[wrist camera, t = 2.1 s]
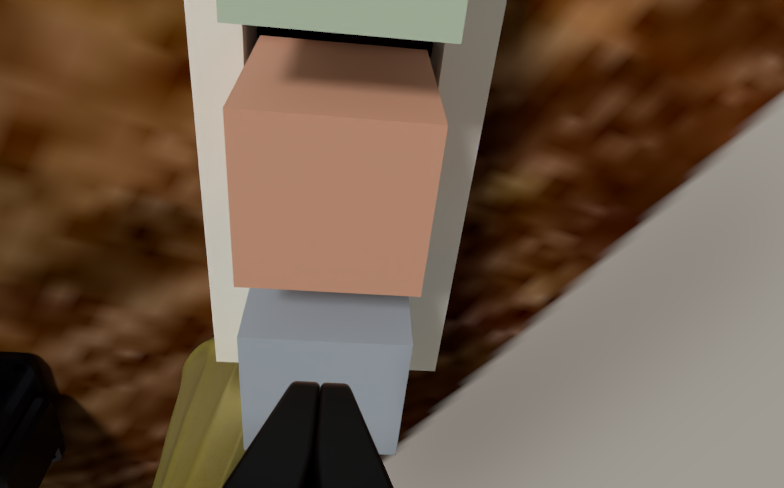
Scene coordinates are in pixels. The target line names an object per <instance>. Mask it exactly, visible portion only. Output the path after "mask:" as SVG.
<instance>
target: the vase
mask: <svg viewBox="0 0 784 488" xmlns="http://www.w3.org/2000/svg"><path fill="white" fill-rule="evenodd" d="M245 452H246V450H244V444H243V428H242V411H241V395H240V379H239V363H237V362H216V352H215V340H214V338H212V339H209V340H207V341H205V342H203V343H202V344H200V345H199V346H198V347H197V348H196V349H195V350H194V351H193V352H192V353H191V354H190V356H189V357H188V359H187V360H186V362H185V364H184V366H183V370H182V380H181V386H180V390H179V394H178V397H177V401H176V404H175V407H174V410H173V414H172V417H171V420H170V424H169V428H168V432H167V435H166V439H165V443H164V448H163V452H162V456H161V459H160V463H159V466H158V470H157V473H156V476H155V480H154V483H153V486H152V488H222V486H223V485H224V483H225V482H226V480H227V479H228V477H229V476H230V474H231V473H232V471H233V470H234V468H235V467H236V465H237V464H238V462H239V461H240V459H241V458H242V456H243V455H244V453H245Z"/></svg>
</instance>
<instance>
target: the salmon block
mask: <svg viewBox="0 0 784 488" xmlns="http://www.w3.org/2000/svg"><path fill="white" fill-rule="evenodd" d="M223 119H224V136H225V152H226V168H227V184H228V201H229V217H230V233H231V249H232V265H233V282H234V287H244V288H263V289H281V290H300V291H318V292H337V293H355V294H374V295H393V296H411V297H421V293H422V286H423V280H424V274H425V268H426V261H427V255H428V249H429V243H430V236H431V230H432V224H433V218H434V211H435V205H436V199H437V193H438V186H439V180H440V174H441V168H442V161H443V155H444V149H445V143H446V136H447V130H448V123H447V119H446V116H445V112H444V108H443V105H442V101H441V98H440V94H439V90H438V87H437V83H436V80H435V76H434V72H433V69H432V65H431V62H430V58H429V54H428V51H427V50H422V49H410V48H399V47H388V46H377V45H365V44H354V43H343V42H331V41H320V40H309V39H297V38H286V37H275V36H263V35H260V37H259V39H258V40H257V42H256V44H255V46H254V48H253V50H252V52H251V54H250V56H249V58H248V60H247V62H246V64H245V66H244V68H243V70H242V71H241V73H240V75H239V77H238V79H237V81H236V83H235V85H234V87H233V89H232V91H231V93H230V95H229V97H228V99H227V101H226V103H225V104H224V106H223Z"/></svg>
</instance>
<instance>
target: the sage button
mask: <svg viewBox="0 0 784 488" xmlns="http://www.w3.org/2000/svg"><path fill="white" fill-rule="evenodd" d="M467 5H468V0H216V6H217V22H218V23H230V24H241V25H252V26H263V27H274V28H285V29H296V30H308V31H319V32H330V33H341V34H352V35H363V36H375V37H386V38H397V39H408V40H419V41H430V42H442V43H453V44H461V43H462V36H463V30H464V24H465V17H466V11H467Z"/></svg>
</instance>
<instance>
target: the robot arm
mask: <svg viewBox="0 0 784 488" xmlns="http://www.w3.org/2000/svg"><path fill="white" fill-rule="evenodd" d="M22 365H23V366H22ZM64 452H65V447H64V443H63V435H62V432H61V428H60V425H59V422H58V419H57V416H56V413H55V410H54V406H53V403H52V401H51V400H50V398H49V397H48V394H47V390H46V387H45V384H44V381H43V378H42V375H41V372H40V369H39V365H38V362H37V361H36V359H35V358H34V357H32V356H31V355H28V354H25V353H13V352H0V488H39V486H40V484H41V482H42V480H43V478H44V476H45V474H46V472H47V470H48V468H49V466H50V464H51V462H58V461H60V460H61V458H62V456H63V454H64ZM222 488H393V485H392V483H391V481H390V478H389V476H388V474H387V471H386V469H385V467H384V464H383V462H382V460H381V457H380V455H379V453H378V450H377V448H376V446H375V443H374V441H373V439H372V436H371V434H370V432H369V429H368V427H367V425H366V423H365V420H364V418H363V416H362V413H361V411H360V409H359V406H358V404H357V402H356V399H355V397H354V395H353V392H352V390H351V388H350V387H349V385H348V384H345V383H328V382H326V383H323V384H322V385H321V387H320V385H319V384H318V383H317V382H308V381H294V382H292V383H291V384H290V385H289V387H288V388H287V390H286V391H285V393H284V394H283V396H282V397H281V399H280V400H279V402H278V403H277V405H276V406H275V408H274V409H273V411H272V412H271V414H270V415H269V417H268V418H267V420H266V421H265V423H264V424H263V426H262V427H261V429H260V430H259V432H258V433H257V435H256V436H255V438H254V439H253V441H252V442H251V444H250V445H249V447H248V449H247V450H246V452H245V453H244V455H243V456H242V458H241V459H240V461H239V462H238V464H237V465H236V467H235V468H234V470H233V471H232V473H231V474H230V476H229V477H228V479H227V480H226V482H225V483H224V485H223V486H222Z"/></svg>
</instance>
